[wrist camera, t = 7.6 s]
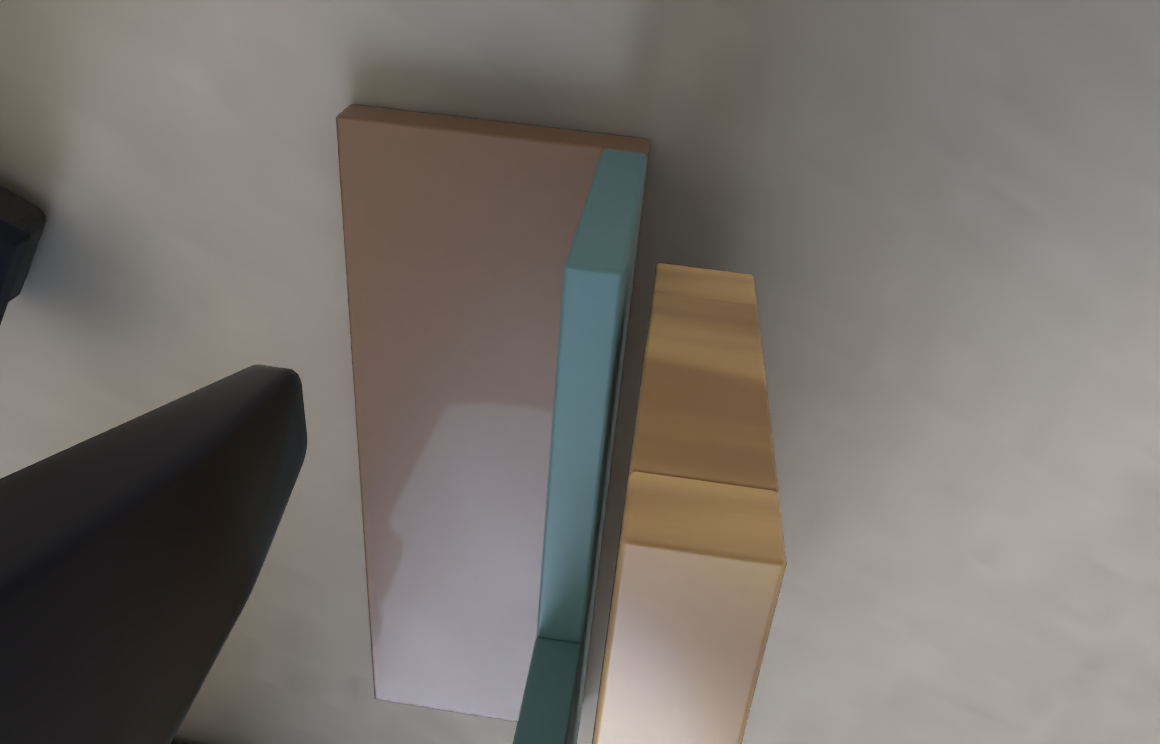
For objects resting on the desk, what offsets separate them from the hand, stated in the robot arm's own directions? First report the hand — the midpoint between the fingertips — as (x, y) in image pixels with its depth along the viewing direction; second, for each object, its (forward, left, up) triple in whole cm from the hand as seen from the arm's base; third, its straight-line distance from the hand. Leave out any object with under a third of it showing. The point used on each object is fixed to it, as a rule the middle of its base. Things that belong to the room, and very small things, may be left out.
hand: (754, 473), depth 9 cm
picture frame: (-12, 0, -10) cm, 15 cm away
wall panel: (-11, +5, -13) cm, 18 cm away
